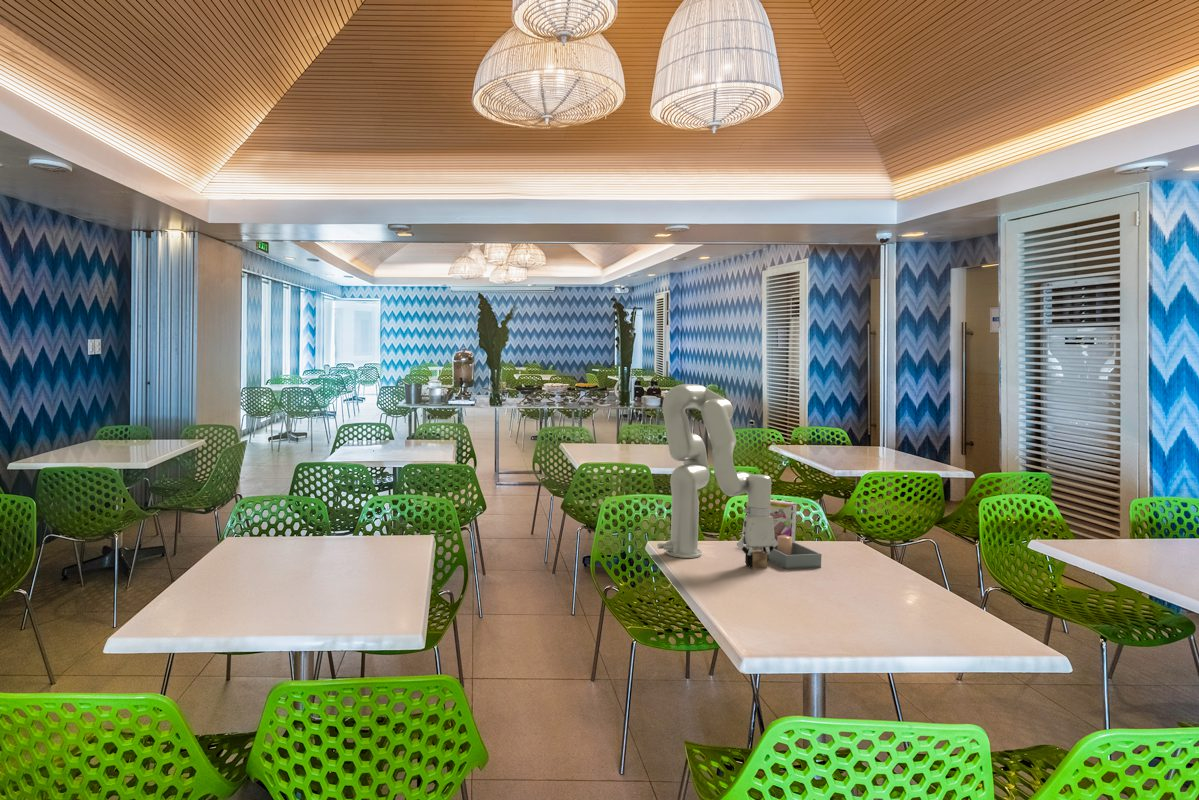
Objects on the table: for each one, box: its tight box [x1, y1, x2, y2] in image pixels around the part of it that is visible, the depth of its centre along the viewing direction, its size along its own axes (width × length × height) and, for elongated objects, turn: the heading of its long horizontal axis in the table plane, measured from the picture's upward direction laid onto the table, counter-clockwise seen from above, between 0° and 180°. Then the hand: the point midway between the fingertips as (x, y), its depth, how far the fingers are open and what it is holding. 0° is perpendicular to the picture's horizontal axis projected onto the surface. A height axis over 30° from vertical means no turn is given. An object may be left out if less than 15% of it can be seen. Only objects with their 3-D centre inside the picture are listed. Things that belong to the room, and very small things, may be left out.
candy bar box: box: [770, 499, 798, 543], centre depth 286 cm, size 11×5×16 cm, turn 58°
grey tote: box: [760, 541, 822, 570], centre depth 261 cm, size 13×17×4 cm
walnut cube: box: [750, 549, 768, 570], centre depth 253 cm, size 5×5×5 cm
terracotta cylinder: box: [777, 535, 792, 555], centre depth 265 cm, size 5×5×7 cm
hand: (756, 565), depth 253 cm, fingers closed on walnut cube, 5 cm apart
